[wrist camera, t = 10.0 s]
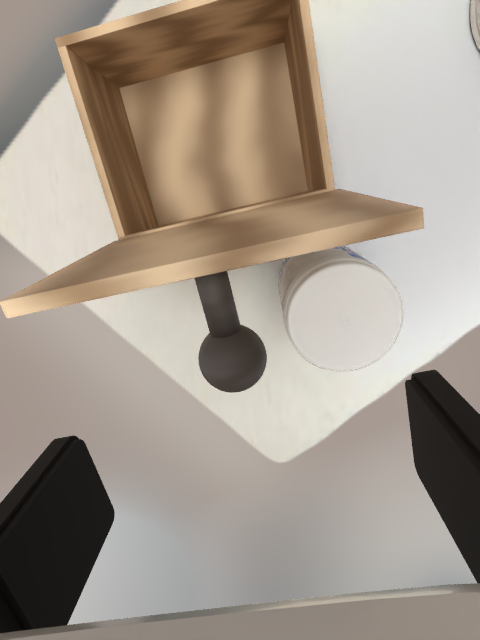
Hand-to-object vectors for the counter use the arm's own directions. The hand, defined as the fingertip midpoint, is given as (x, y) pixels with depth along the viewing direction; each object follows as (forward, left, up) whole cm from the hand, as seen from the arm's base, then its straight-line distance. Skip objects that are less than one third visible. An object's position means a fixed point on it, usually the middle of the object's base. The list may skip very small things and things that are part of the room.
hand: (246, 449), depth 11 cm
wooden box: (+1, -13, -34) cm, 37 cm away
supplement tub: (-7, +4, -35) cm, 36 cm away
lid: (+1, -5, -14) cm, 15 cm away
